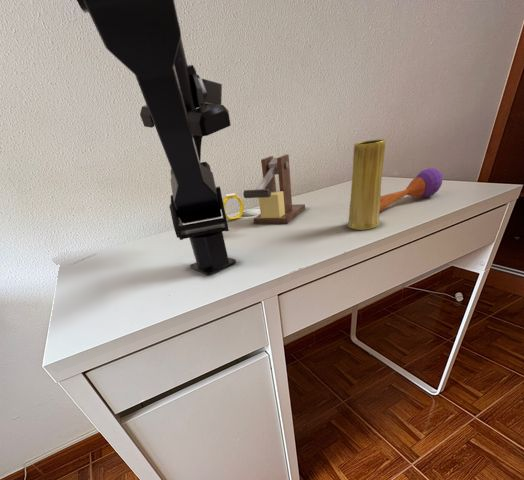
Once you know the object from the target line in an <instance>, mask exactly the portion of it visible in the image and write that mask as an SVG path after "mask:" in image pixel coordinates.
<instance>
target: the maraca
mask: <svg viewBox="0 0 524 480" xmlns="http://www.w3.org/2000/svg"><path fill="white" fill-rule="evenodd" d="M443 180H444V178H443V174H442V172H441V171H440V170H439V169H437V168H434V167H427V168H426V169H424V170H421V171H420V172H419V173H418V174H417V175H416V176H415V178H413V179H412V180H411V181H410V183H409V184H408V185H407V186H406V188H405V189H403V190H400V191H395V192H392V193H388V194H383V195H380V211H379V212H381V211H382V210H384V209H386V208H388V207H389V206H391V205H393V204H394V203H396V202H397V201H399V200H400V199H402V198H405V196H410V197H414V198H429V197H432V196H434V195H435V194H436V193H437V192H438V191H439V190H440V188H441V186H442V185H443Z"/></svg>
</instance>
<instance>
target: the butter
mask: <svg viewBox="0 0 524 480" xmlns="http://www.w3.org/2000/svg"><path fill="white" fill-rule="evenodd" d="M258 204H259V210H260V214H261V218H280V217H282V216H283V215H284V214H285V207H284V195H283V191H280V190H279V191H278V190H277V191H276V192H271V196H270V197H264V198H258Z"/></svg>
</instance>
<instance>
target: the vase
mask: <svg viewBox="0 0 524 480" xmlns="http://www.w3.org/2000/svg"><path fill="white" fill-rule="evenodd" d="M385 151H386V139H383V138H381V139H380V138H379V139H378V138H377V139H370V140H364V141H359V142H355V143H354V144H353V155H352V156H353V158H352V172H351V173H352V174H351V189H350V202H349V213H348V223H347V227H348V228H349V229H351V230H356V231H367V230H372V229H375V228H377V227H378V226H379V225H380V212H381V211H380V196H381V194H382V193H381V192H382V178H383V170H384V159H385Z"/></svg>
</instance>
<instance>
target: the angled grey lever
mask: <svg viewBox="0 0 524 480" xmlns="http://www.w3.org/2000/svg"><path fill="white" fill-rule="evenodd" d="M277 158H278V157H273V158H272V160H271V161H270V162H269V164H268V166H269V171H268V172H267V174H266V175H265V177H264V178H263V177H262V180H261V181H260V183H259V184H258V186H257V187H256V188H255V189H245V190H244V191H243V198H244V199H259V198H264V197H270V196H271V190H270V189H265V187H266V186H267V184H268V183H269V181H270V180H271V178H272V177H273V175H275V176H276V175H278V164H277Z"/></svg>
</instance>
